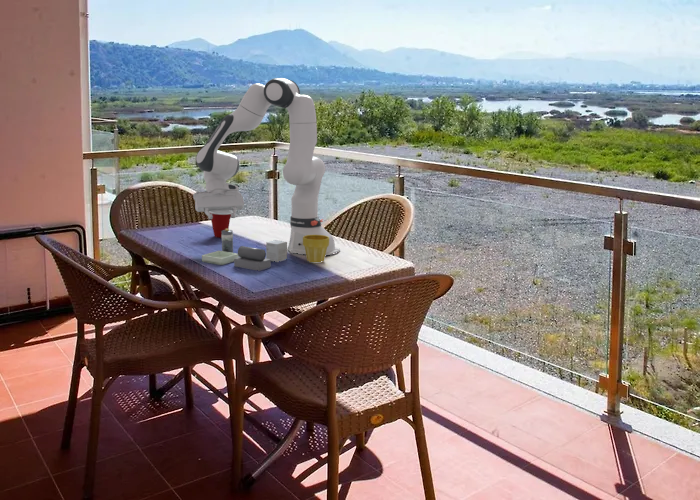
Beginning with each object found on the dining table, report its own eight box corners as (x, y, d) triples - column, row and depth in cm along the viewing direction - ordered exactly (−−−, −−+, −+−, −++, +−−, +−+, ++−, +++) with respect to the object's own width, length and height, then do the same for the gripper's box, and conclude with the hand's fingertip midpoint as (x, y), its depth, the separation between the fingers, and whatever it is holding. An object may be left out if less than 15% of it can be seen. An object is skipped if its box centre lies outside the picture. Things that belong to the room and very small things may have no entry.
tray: (238, 259, 266) (238, 253, 265) (221, 265, 258) (221, 258, 257) (219, 256, 271) (219, 250, 270) (201, 261, 262) (201, 255, 262)
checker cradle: (270, 266, 256) (270, 248, 255) (259, 270, 250) (259, 251, 249) (246, 262, 262) (245, 244, 261) (234, 266, 256) (233, 247, 255)
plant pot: (328, 258, 272) (329, 234, 270) (328, 264, 262) (329, 239, 260) (303, 257, 272) (303, 234, 269) (302, 264, 261) (302, 239, 259)
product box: (265, 260, 267) (265, 242, 265) (275, 257, 272) (275, 239, 270) (277, 262, 264) (277, 244, 262) (287, 259, 268) (287, 241, 267)
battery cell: (235, 254, 275) (235, 228, 272) (228, 256, 271) (227, 230, 268) (227, 253, 277) (226, 227, 274) (219, 255, 273) (219, 229, 271)
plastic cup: (230, 239, 303) (230, 212, 300) (206, 238, 303) (206, 212, 300) (235, 234, 314) (234, 208, 311) (212, 233, 314) (211, 208, 311)
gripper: (193, 187, 280) (197, 214, 273) (241, 186, 287) (247, 212, 281) (191, 196, 285) (196, 223, 279) (239, 194, 292) (244, 221, 286)
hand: (222, 217), depth 280 cm, fingers open, 8 cm apart
